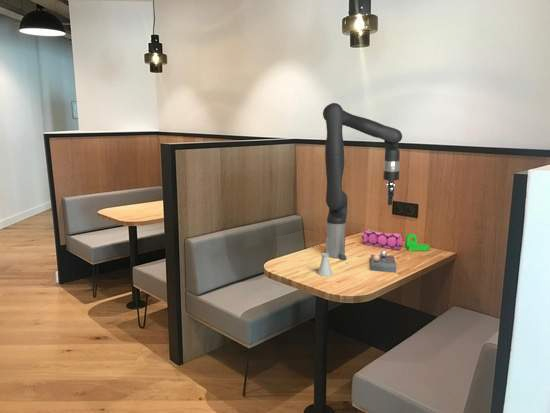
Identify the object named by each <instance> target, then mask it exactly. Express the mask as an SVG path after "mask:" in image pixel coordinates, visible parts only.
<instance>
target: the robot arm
mask: <svg viewBox="0 0 550 413" xmlns="http://www.w3.org/2000/svg"><path fill="white" fill-rule="evenodd" d="M322 116H323V119H324V120H325V124H326V139H325V146H324V147H325V148H324V149H325V151H324V155H325V156H324V158H325V159H324V160H325V175H326V193H325V195H326V196H325V202H326V205H327V207H328V215H327V217H326V223H327V224H326V241H325V253H328V254H329V255H328V258H334V259H335V258H336V259H337V258H338V259H340V256H341V255H345V256H346V226H347V224H346V221H347V215H348V195H347V193H346V192H345V191H343V186H342V185H343V184H342V183H343V182H342V181H343V174H344V170H345V146H344V138H343V127H344V126H345V127H348V128H350V129H354V130H356V131H358V132H361V133H363V134H365V135H368V136H370V137H372V138H376V139H380V140H383V141H384V142H383V143H384V144H383V145H384V164H383V180H384V181H387V182H386V193H387V195H386V196H387V205H388V206H392V205H393V198H394V194H395V188H396V183H395V181H399V180H400V168H401V167H400V164H401V163H400V157H401V156H400V153H401V152H400V150H399V143H400V142H401V141H402V139H403V134H402V132H401V130H399V129H397V128H395V127H391V126H388V125H385V124H382V123H380V122H377V121H375V120H372V119H369V118H366V117H363V116H359V115H355V114H352V113H349V112H347V111H345V110H344V108H343V107H342V106H341V104H339V103H336V102H332V103H329V104H327V105H326V106H325V107H324V108H323V112H322Z"/></svg>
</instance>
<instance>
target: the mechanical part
mask: <svg viewBox="0 0 550 413" xmlns="http://www.w3.org/2000/svg"><path fill="white" fill-rule="evenodd" d="M411 238H412V240H410V239H411ZM417 242H418V238H417V236H416V235H415V234H414V233H408V234H407V235H406V236H405V243H404V244H405V247H404V248H405V249H407V251H409V252H411V251H413V252H414V251H415V252H416V251H418V252H419V251H421V252H422V251H423V252H424V251H426V252H427V251H430V245H429V244H428V243H417Z"/></svg>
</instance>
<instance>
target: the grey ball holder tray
mask: <svg viewBox="0 0 550 413" xmlns="http://www.w3.org/2000/svg"><path fill="white" fill-rule="evenodd" d="M374 255H375V254H370V270H371V271H372V272H381V273H382V272H383V273H397V267H398V266H397V263H396V261H395V256H394V255H386V256H385V257H383V256H381V255H379V254H378V255H379V257H380V260H379V261H374V260H373V256H374Z"/></svg>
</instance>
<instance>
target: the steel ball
mask: <svg viewBox="0 0 550 413" xmlns="http://www.w3.org/2000/svg"><path fill="white" fill-rule="evenodd" d="M379 254H380V255H381V256H383V257H385V256H388V252H387V251H386V250H384V249H383V250H381V251H380V252H379Z"/></svg>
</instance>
